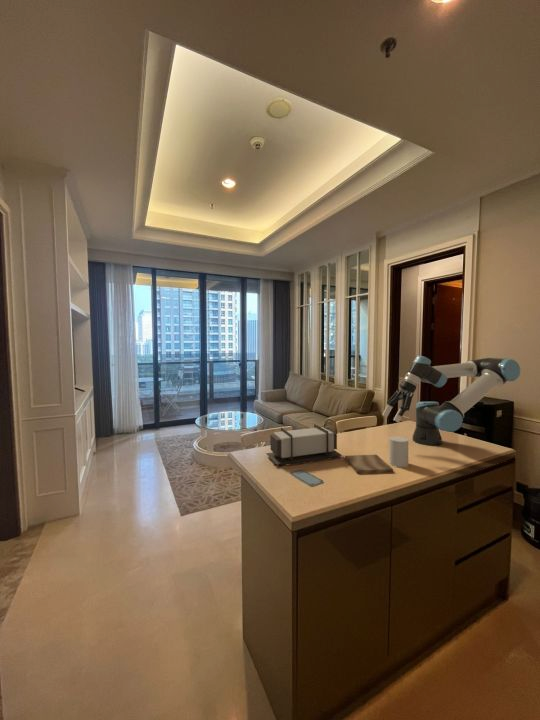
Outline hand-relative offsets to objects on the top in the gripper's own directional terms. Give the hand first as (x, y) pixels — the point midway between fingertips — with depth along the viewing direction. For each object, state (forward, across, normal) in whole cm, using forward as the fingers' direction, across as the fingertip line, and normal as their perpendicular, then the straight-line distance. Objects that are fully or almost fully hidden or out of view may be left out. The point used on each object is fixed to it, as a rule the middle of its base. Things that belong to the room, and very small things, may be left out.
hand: (389, 418), depth 159 cm
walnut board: (+25, +16, -6) cm, 30 cm away
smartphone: (+42, +27, -32) cm, 59 cm away
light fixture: (+39, +3, -30) cm, 50 cm away
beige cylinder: (+17, +15, +7) cm, 24 cm away
